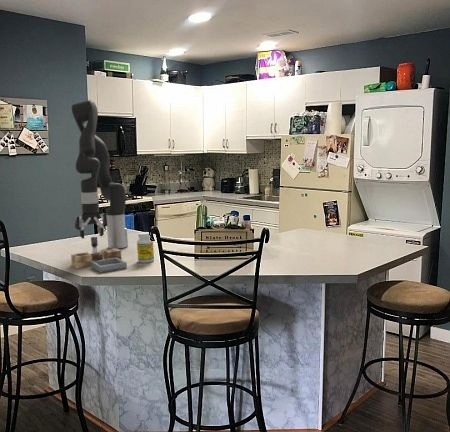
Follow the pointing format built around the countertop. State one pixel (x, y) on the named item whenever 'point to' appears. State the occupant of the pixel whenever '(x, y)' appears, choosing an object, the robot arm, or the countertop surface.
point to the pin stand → (97, 257)
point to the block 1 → (81, 260)
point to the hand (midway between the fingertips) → (92, 237)
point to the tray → (108, 265)
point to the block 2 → (112, 253)
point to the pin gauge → (94, 245)
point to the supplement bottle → (145, 248)
